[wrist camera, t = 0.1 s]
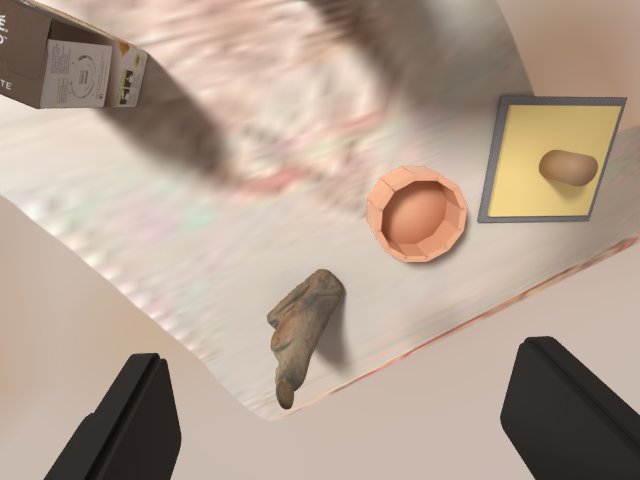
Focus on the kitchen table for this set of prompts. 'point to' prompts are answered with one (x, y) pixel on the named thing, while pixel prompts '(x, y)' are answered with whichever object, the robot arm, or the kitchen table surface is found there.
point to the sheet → (532, 147)
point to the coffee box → (64, 60)
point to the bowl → (416, 213)
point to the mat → (497, 142)
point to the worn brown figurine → (300, 330)
